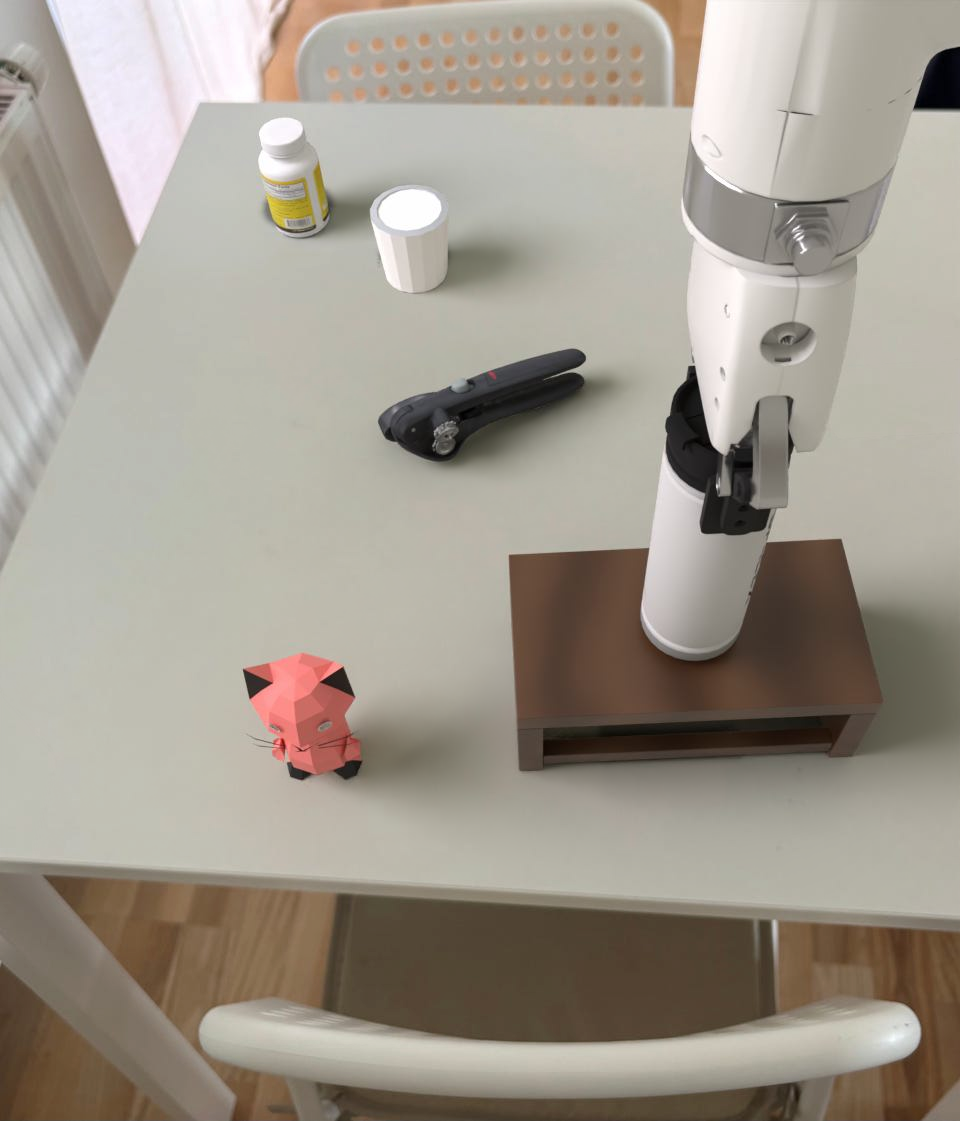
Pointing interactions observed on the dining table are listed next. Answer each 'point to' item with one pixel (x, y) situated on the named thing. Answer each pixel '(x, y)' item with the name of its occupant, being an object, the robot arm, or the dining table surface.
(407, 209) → the shot glass
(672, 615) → the travel mug
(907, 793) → the dining table surface
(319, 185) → the supplement bottle
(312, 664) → the cat figurine
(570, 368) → the can opener
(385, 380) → the dining table surface
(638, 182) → the dining table surface
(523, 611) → the shelf
